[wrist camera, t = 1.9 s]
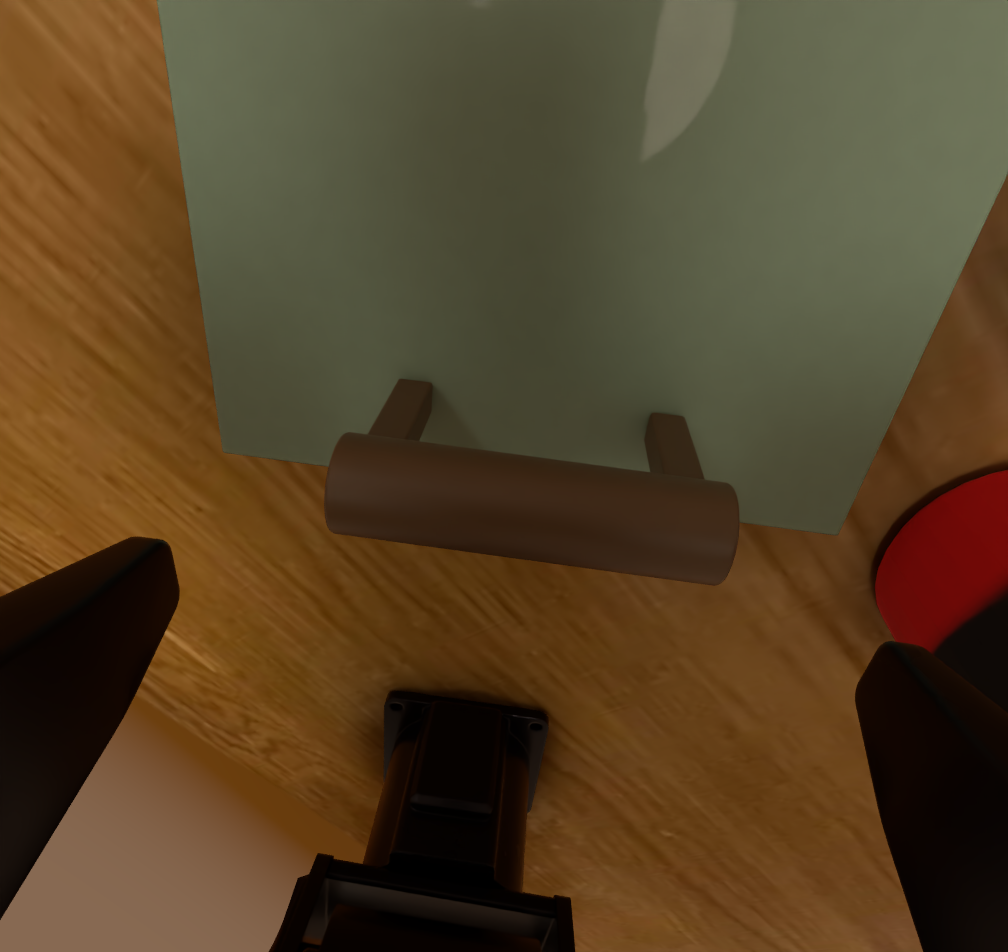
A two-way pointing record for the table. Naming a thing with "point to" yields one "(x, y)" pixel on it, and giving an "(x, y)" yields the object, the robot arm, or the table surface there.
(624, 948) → the table surface
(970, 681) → the soda can
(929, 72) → the lid
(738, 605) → the table surface
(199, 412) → the table surface
